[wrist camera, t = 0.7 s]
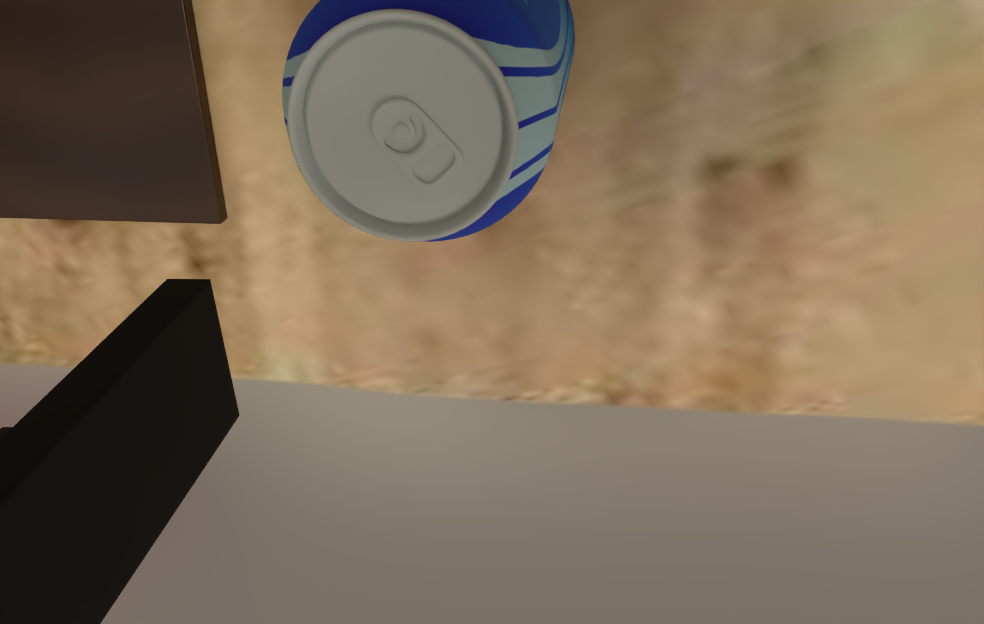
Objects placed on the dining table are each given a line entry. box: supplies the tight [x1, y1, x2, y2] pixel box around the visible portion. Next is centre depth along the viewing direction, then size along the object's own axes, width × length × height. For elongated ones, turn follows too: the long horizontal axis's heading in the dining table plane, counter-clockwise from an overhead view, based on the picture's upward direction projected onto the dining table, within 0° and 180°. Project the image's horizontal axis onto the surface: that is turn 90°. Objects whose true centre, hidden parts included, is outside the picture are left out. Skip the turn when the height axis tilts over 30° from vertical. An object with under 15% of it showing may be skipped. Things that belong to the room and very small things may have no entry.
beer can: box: [282, 0, 575, 242], centre depth 32 cm, size 8×8×16 cm
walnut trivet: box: [0, 0, 227, 224], centre depth 41 cm, size 20×16×1 cm
